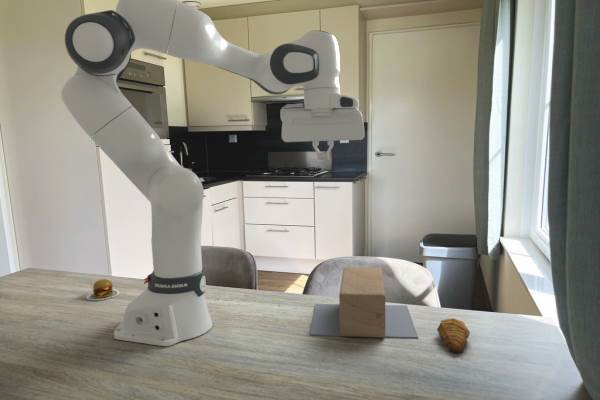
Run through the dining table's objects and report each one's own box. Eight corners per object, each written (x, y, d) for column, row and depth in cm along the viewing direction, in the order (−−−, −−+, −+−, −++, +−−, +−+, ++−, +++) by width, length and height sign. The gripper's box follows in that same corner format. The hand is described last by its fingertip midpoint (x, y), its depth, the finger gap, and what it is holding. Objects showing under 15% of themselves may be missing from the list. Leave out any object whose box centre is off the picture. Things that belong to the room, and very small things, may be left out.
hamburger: (77, 296, 125) (75, 279, 125) (119, 287, 132) (118, 271, 132) (84, 308, 116) (82, 289, 115) (129, 298, 123) (127, 280, 122)
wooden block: (385, 294, 90) (381, 267, 110) (339, 293, 91) (343, 266, 111) (385, 338, 91) (381, 303, 111) (339, 336, 93) (343, 302, 112)
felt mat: (309, 335, 94) (309, 334, 94) (316, 304, 112) (315, 303, 112) (418, 338, 92) (418, 337, 92) (406, 306, 109) (406, 305, 109)
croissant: (435, 325, 98) (435, 305, 97) (466, 328, 96) (466, 307, 96) (438, 353, 85) (438, 330, 84) (473, 357, 83) (474, 333, 83)
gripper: (277, 103, 99) (279, 161, 101) (364, 99, 96) (365, 159, 98) (281, 105, 105) (283, 160, 107) (363, 102, 103) (364, 158, 105)
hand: (323, 159), depth 103 cm, fingers closed
